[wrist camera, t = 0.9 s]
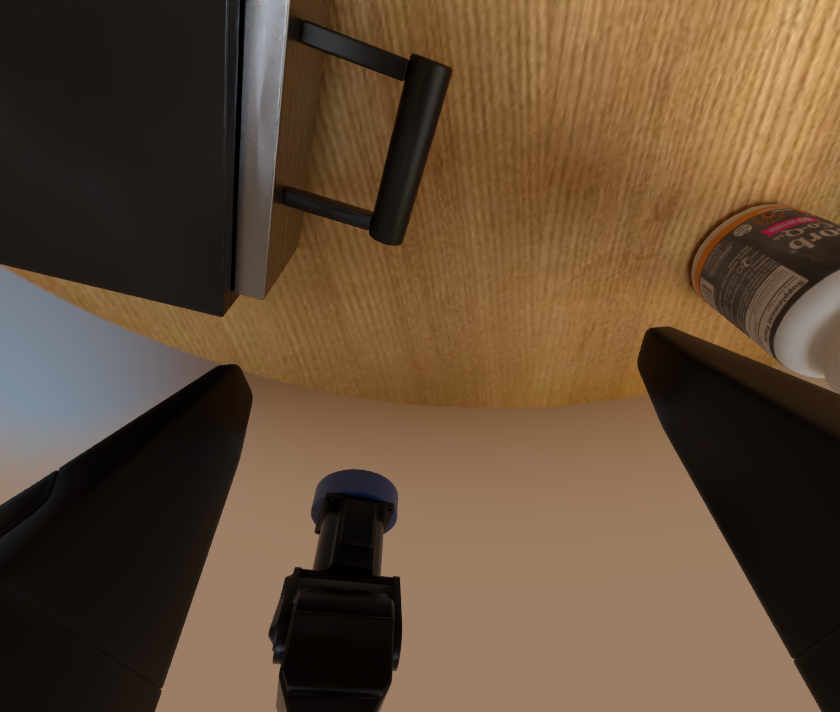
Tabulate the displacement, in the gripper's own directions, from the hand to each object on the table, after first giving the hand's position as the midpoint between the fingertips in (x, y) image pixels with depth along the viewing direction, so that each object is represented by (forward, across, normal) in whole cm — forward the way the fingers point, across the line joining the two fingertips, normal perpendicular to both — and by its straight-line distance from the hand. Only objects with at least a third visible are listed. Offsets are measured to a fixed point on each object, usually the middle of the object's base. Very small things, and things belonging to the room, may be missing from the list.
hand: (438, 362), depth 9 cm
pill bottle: (+14, -17, +5) cm, 22 cm away
